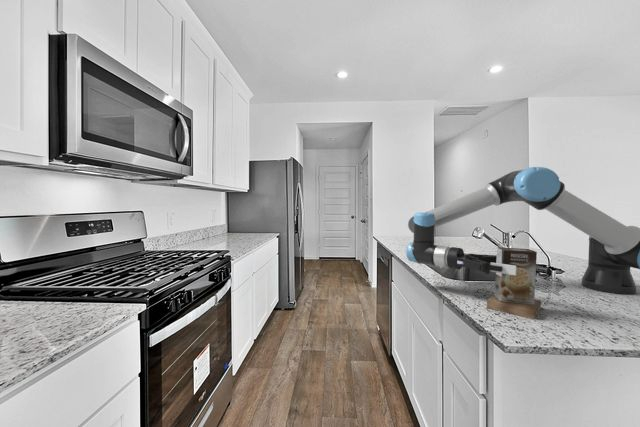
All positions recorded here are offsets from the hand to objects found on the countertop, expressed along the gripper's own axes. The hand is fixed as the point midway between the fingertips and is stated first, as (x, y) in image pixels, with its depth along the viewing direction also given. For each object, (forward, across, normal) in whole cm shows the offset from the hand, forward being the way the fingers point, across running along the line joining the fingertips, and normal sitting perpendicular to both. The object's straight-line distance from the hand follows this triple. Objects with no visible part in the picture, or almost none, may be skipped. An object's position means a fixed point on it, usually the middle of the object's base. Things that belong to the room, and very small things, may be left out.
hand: (521, 267), depth 89 cm
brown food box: (-2, 0, -11) cm, 11 cm away
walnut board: (-1, 0, -13) cm, 13 cm away
